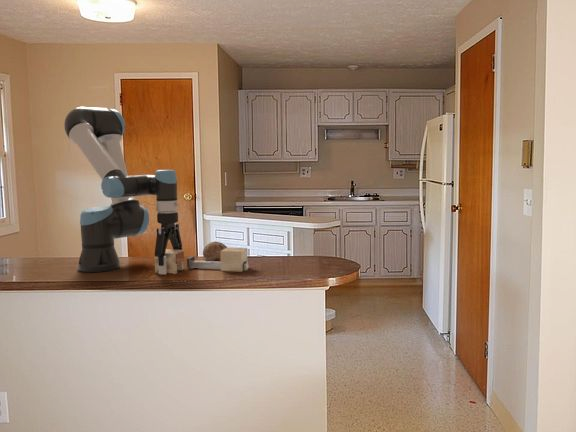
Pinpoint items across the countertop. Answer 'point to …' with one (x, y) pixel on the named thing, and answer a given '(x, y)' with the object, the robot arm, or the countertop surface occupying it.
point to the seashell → (213, 250)
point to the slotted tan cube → (172, 261)
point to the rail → (212, 265)
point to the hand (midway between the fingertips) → (169, 270)
